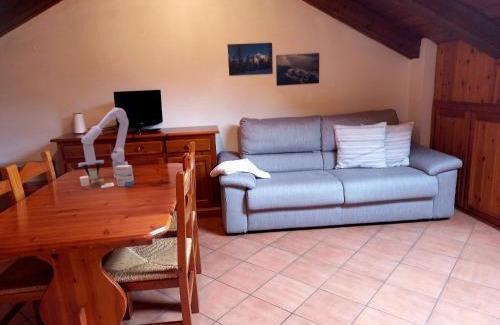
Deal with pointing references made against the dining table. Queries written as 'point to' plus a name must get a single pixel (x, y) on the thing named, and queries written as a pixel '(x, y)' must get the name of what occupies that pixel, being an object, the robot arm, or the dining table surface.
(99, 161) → the robot arm
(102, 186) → the tile
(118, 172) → the ink box
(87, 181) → the cream block
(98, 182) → the walnut slab
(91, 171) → the sage block
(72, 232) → the dining table surface
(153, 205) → the dining table surface
